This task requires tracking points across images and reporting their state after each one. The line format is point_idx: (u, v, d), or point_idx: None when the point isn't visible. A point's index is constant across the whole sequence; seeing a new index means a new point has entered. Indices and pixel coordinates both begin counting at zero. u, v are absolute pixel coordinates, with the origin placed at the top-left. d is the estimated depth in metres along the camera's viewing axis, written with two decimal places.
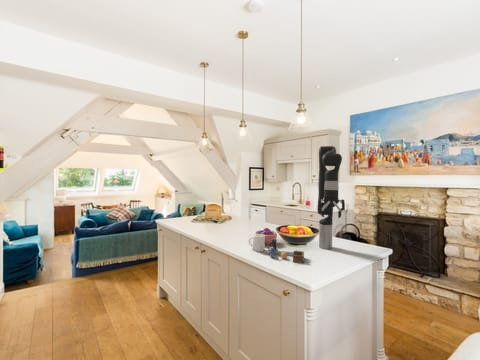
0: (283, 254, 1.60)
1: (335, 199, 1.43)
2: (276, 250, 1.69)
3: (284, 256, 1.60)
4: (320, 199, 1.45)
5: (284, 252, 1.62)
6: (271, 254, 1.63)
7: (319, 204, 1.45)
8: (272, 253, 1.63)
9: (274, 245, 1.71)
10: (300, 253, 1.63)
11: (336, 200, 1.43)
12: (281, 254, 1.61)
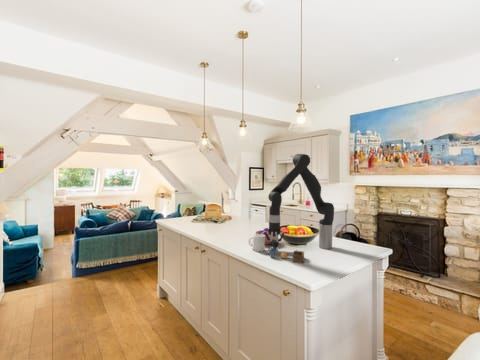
0: (283, 254, 1.60)
1: (278, 230, 1.70)
2: (276, 250, 1.69)
3: (284, 256, 1.60)
4: (265, 232, 1.72)
5: (284, 252, 1.62)
6: (271, 254, 1.63)
7: (266, 236, 1.72)
8: (272, 253, 1.63)
9: (274, 245, 1.71)
10: (300, 253, 1.63)
11: (278, 231, 1.70)
12: (281, 254, 1.61)
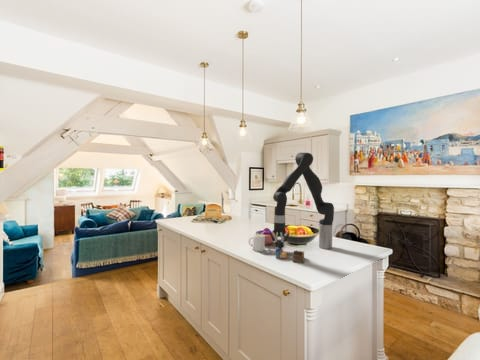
0: (283, 254, 1.60)
1: (283, 230, 1.69)
2: (281, 250, 1.69)
3: (284, 256, 1.60)
4: (270, 232, 1.71)
5: (284, 252, 1.62)
6: (276, 254, 1.62)
7: (271, 236, 1.71)
8: (277, 253, 1.62)
9: (279, 245, 1.70)
10: (300, 253, 1.63)
11: (283, 231, 1.69)
12: (281, 254, 1.61)
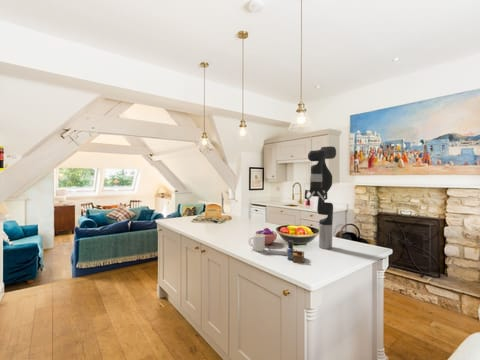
0: None
1: (319, 190, 1.65)
2: (293, 251, 1.67)
3: None
4: (306, 190, 1.67)
5: None
6: (288, 255, 1.60)
7: (305, 194, 1.67)
8: (289, 254, 1.60)
9: (290, 246, 1.68)
10: (300, 253, 1.63)
11: (320, 190, 1.65)
12: None
